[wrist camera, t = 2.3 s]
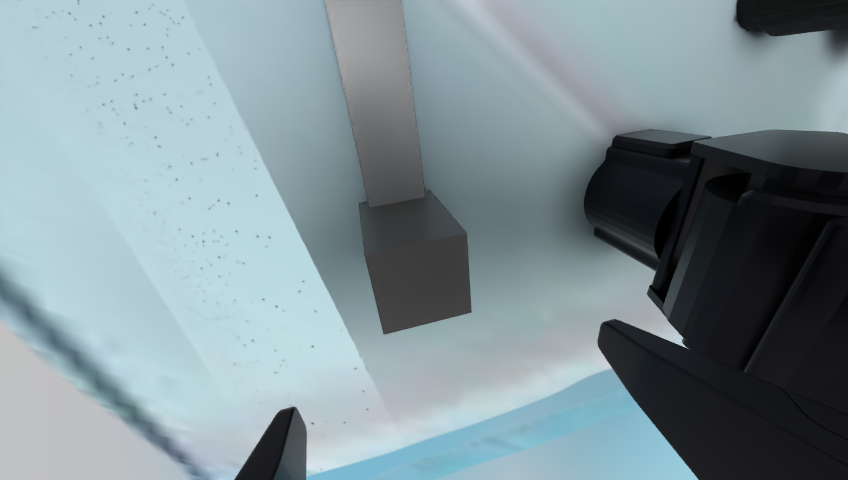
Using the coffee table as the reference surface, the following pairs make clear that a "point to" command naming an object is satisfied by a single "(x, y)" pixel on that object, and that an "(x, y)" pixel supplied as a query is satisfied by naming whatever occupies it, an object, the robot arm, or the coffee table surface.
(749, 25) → the film camera
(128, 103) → the coffee table surface
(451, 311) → the grey angled bracket
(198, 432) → the coffee table surface
